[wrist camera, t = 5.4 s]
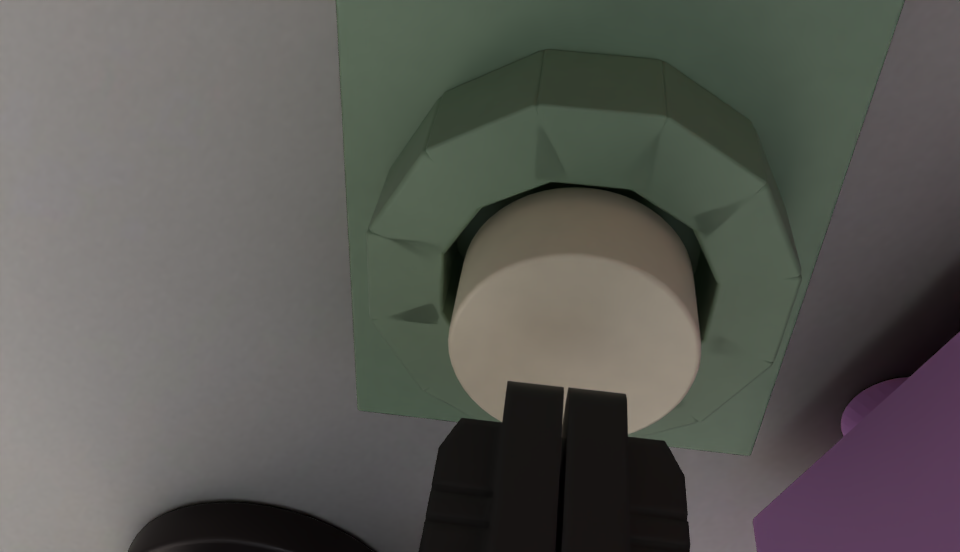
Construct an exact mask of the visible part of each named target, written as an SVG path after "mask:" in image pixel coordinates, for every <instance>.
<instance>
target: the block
mask: <svg viewBox="0 0 960 552" xmlns="http://www.w3.org/2000/svg"><path fill="white" fill-rule="evenodd" d="M904 2H905V0H336V13H337V32H338V51H339V70H340V88H341V107H342V126H343V145H344V164H345V183H346V201H347V220H348V239H349V258H350V277H351V296H352V314H353V333H354V352H355V371H356V390H357V408H358V410H359V411H367V412H375V413H384V414H392V415H401V416H410V417H418V418H427V419H435V420H444V421H453V422H459V420H460V419H461V418H469V419H477V420H486V421H495V422H501V421H499V420H497V419H496V418H494V417H493V416H491V415H490V414H488V413H487V412H486V411H485V410H483V409H482V408H481V407H480V406H479V405H478V404H477V403H476V402H474V401H473V400H472V399H471V397H470V396H469V395H468V394H467V392H466V391H465V390H464V389H463V387H462V385H461V384H460V382H459V380H458V379H457V376H456V374H455V372H454V369H453V367H452V364H451V360H450V356H449V349H448V336H449V328H450V323H451V318H452V314H453V309H454V304H455V300H456V295H457V290H458V286H459V281H460V276H461V272H462V267H463V262H464V259H465V255H466V252H467V249H468V247H469V245H470V243H471V241H472V239H473V238H474V236H475V235H476V233H477V232H478V230H479V229H480V228H481V227H482V226H483V225H484V223H485V222H486V221H487V220H488V219H489V218H490V217H492V216H493V215H494V214H495V213H497V212H498V211H499V210H501V209H502V208H504V207H505V206H507V205H509V204H510V203H512V202H514V201H516V200H518V199H520V198H523V197H525V196H527V195H530V194H534V193H537V192H540V191H544V190H550V189H555V188H567V187H584V188H594V189H601V190H606V191H610V192H614V193H617V194H621V195H623V196H626V197H628V198H631V199H633V200H635V201H637V202H639V203H641V204H643V205H645V206H646V207H648V208H650V209H651V210H652V211H654V212H655V213H656V214H658V215H659V216H660V217H662V218H663V219H664V220H665V221H666V222H667V223H668V224H669V225H670V226H671V227H672V228H673V230H674V231H675V232H676V233H677V235H678V236H679V237H680V239H681V241H682V242H683V244H684V246H685V248H686V249H687V252H688V255H689V258H690V260H691V264H692V270H693V276H694V285H695V294H696V303H697V312H698V320H699V329H700V338H701V359H700V365H699V369H698V372H697V375H696V378H695V380H694V382H693V384H692V385H691V387H690V389H689V391H688V393H687V394H686V395H685V397H684V398H683V399H682V400H681V402H680V403H679V404H678V405H677V406H676V407H675V408H674V409H673V410H672V411H671V412H669V413H668V414H667V415H665V416H664V417H663V418H661V419H660V420H658V421H656V422H655V423H653V424H651V425H649V426H648V427H646V428H643V429H641V430H638V431H636V432H634V433H631V434H628V437H637V438H645V439H654V440H663V441H665V442H666V444H667V445H668V447H676V448H684V449H693V450H702V451H710V452H719V453H727V454H736V455H745V456H750V455H751V453H752V450H753V447H754V444H755V441H756V438H757V435H758V432H759V429H760V426H761V423H762V420H763V417H764V414H765V411H766V408H767V405H768V402H769V400H770V397H771V394H772V391H773V388H774V385H775V382H776V379H777V376H778V373H779V370H780V367H781V364H782V361H783V358H784V355H785V352H786V349H787V346H788V344H789V341H790V338H791V335H792V332H793V329H794V326H795V323H796V320H797V317H798V314H799V311H800V308H801V305H802V302H803V299H804V296H805V293H806V291H807V288H808V285H809V282H810V279H811V276H812V273H813V270H814V267H815V264H816V261H817V258H818V255H819V252H820V249H821V246H822V243H823V240H824V237H825V235H826V232H827V229H828V226H829V223H830V220H831V217H832V214H833V211H834V208H835V205H836V202H837V199H838V196H839V193H840V190H841V187H842V184H843V181H844V179H845V176H846V173H847V170H848V167H849V164H850V161H851V158H852V155H853V152H854V149H855V146H856V143H857V140H858V137H859V134H860V131H861V128H862V126H863V123H864V120H865V117H866V114H867V111H868V108H869V105H870V102H871V99H872V96H873V93H874V90H875V87H876V84H877V81H878V78H879V75H880V72H881V70H882V67H883V64H884V61H885V58H886V55H887V52H888V49H889V46H890V43H891V40H892V37H893V34H894V31H895V28H896V25H897V22H898V19H899V16H900V14H901V11H902V8H903V5H904Z"/></svg>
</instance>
